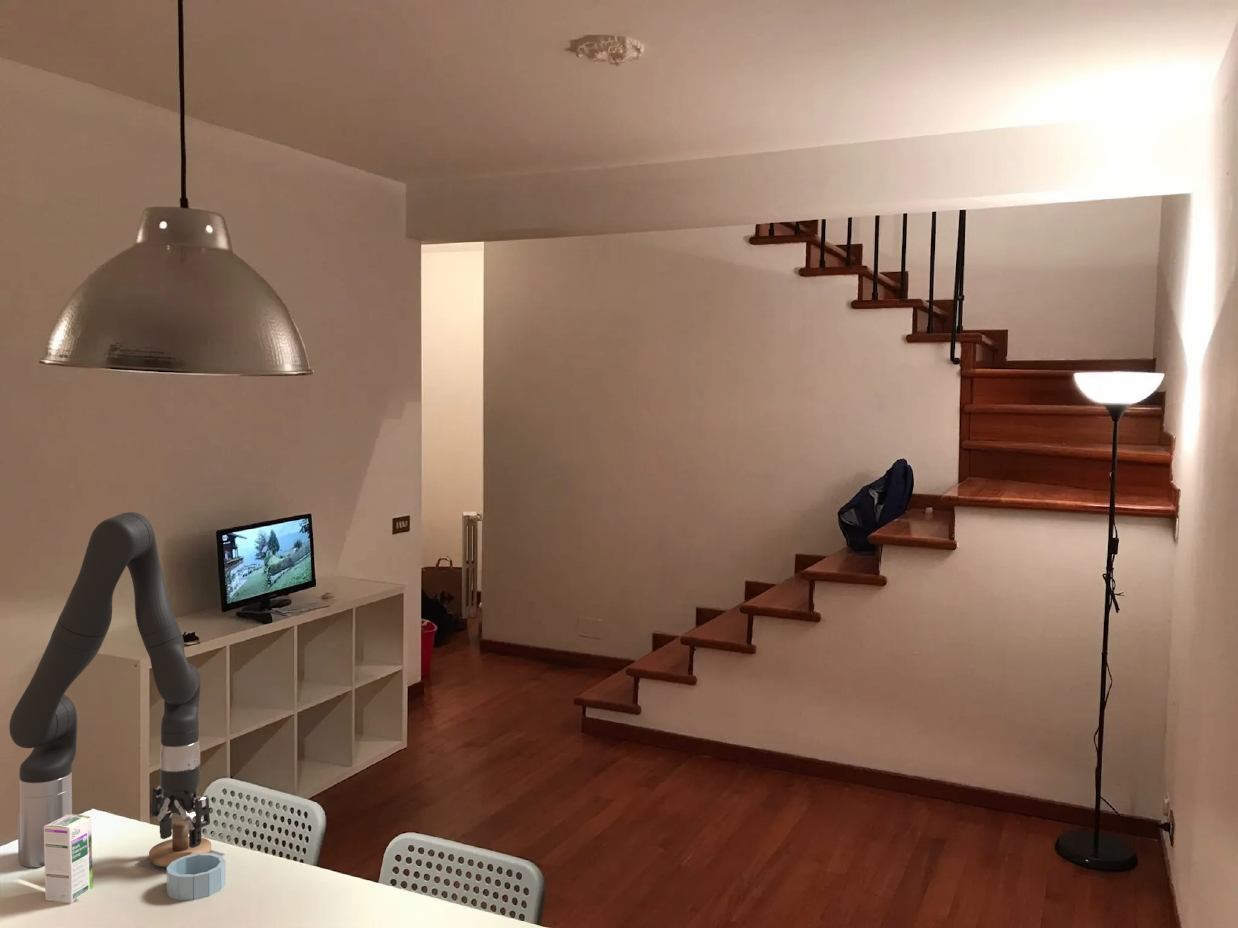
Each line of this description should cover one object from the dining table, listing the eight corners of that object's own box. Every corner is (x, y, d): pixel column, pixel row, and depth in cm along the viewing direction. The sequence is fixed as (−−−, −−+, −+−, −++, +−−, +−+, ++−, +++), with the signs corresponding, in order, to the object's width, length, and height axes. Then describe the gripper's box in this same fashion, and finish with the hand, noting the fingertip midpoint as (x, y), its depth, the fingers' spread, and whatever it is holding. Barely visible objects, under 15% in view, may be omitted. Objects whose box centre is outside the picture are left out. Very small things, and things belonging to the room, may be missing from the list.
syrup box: (71, 904, 186) (70, 827, 185) (43, 900, 187) (43, 824, 186) (93, 890, 191) (92, 815, 191) (66, 887, 192) (65, 812, 192)
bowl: (155, 894, 190) (155, 868, 190) (199, 873, 199) (199, 849, 199) (192, 907, 185) (192, 880, 185) (236, 885, 194) (236, 859, 194)
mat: (134, 866, 201) (134, 863, 201) (184, 844, 212) (184, 841, 212) (175, 879, 196) (175, 876, 196) (225, 856, 207) (225, 853, 207)
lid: (136, 863, 202) (136, 828, 201) (184, 842, 212) (184, 809, 212) (175, 876, 196) (175, 840, 196) (223, 854, 207) (223, 819, 206)
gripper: (140, 762, 203) (140, 841, 204) (188, 775, 197) (189, 856, 197) (171, 752, 210) (172, 828, 210) (219, 763, 203) (220, 842, 204)
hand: (180, 841), depth 204 cm, fingers open, 8 cm apart
